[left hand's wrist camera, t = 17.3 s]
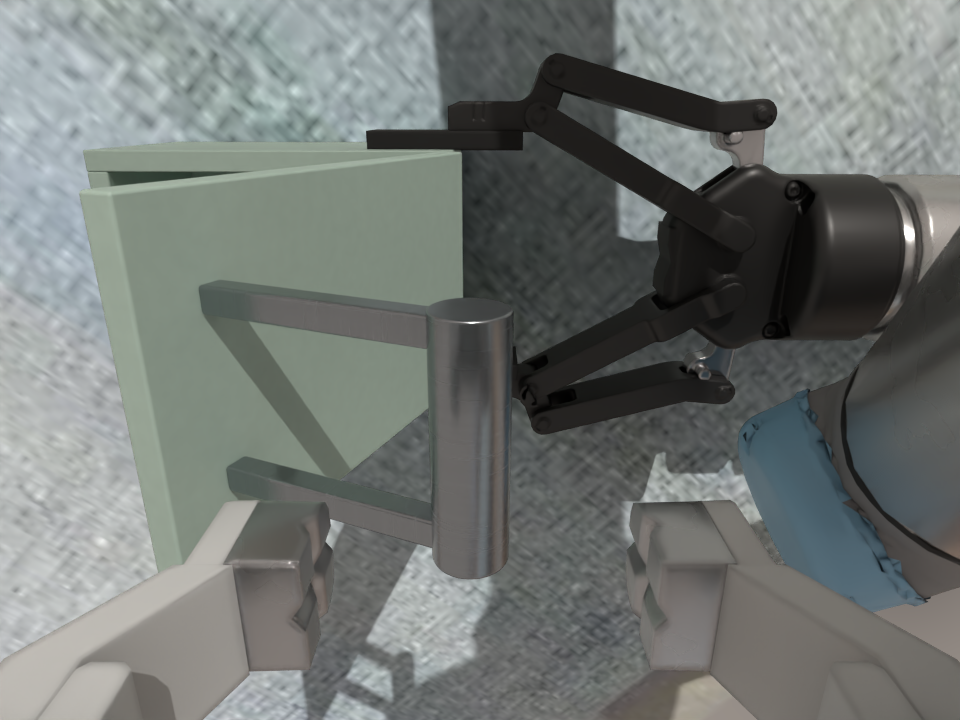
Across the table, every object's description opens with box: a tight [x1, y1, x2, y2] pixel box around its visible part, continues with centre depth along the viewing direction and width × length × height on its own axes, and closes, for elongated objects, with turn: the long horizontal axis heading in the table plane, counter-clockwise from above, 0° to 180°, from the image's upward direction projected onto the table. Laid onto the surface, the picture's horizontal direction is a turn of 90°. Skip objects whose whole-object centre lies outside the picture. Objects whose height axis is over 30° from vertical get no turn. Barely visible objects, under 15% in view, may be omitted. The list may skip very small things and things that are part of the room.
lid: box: [79, 152, 514, 579], centre depth 19 cm, size 16×10×8 cm
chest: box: [83, 142, 461, 189], centre depth 32 cm, size 15×10×9 cm, turn 90°
